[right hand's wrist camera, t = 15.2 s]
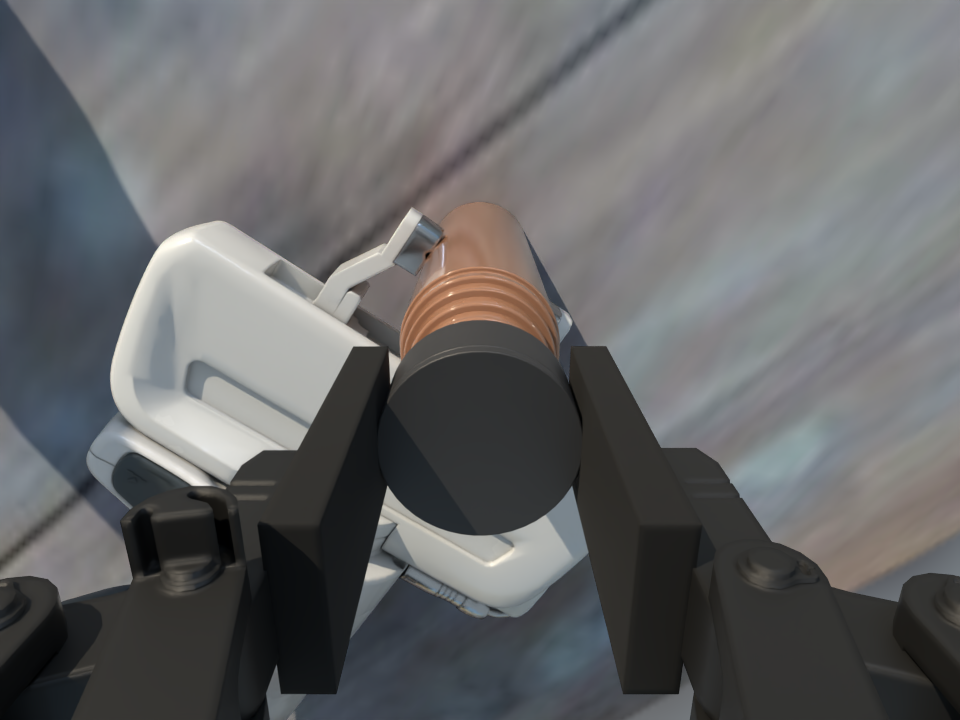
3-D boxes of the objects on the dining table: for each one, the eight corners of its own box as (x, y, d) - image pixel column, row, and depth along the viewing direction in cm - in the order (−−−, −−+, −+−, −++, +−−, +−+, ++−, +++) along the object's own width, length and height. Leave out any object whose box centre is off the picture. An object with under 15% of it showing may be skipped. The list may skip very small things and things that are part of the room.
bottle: (421, 214, 30) (339, 359, 12) (516, 192, 30) (570, 309, 12) (444, 305, 32) (401, 550, 14) (535, 285, 31) (608, 510, 14)
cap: (351, 399, 14) (332, 441, 13) (487, 280, 13) (489, 307, 12) (472, 515, 15) (471, 569, 14) (607, 412, 14) (625, 456, 13)
